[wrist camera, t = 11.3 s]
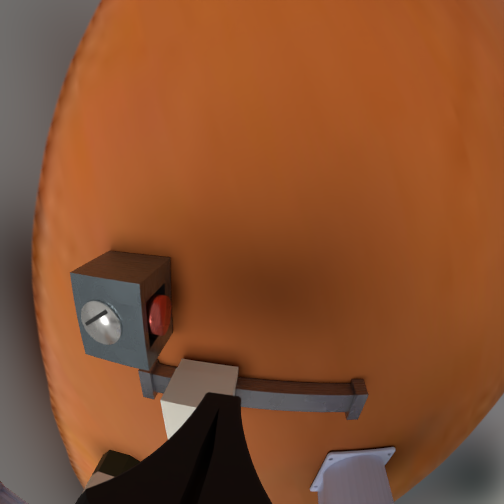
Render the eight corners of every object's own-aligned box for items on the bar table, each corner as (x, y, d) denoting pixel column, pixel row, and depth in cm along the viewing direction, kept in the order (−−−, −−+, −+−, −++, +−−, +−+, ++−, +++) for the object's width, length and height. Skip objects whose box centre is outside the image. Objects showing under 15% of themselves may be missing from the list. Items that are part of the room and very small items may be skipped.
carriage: (235, 407, 22) (227, 453, 17) (185, 399, 23) (168, 442, 18) (238, 364, 21) (228, 412, 16) (181, 356, 21) (160, 400, 16)
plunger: (172, 323, 19) (159, 343, 17) (119, 314, 19) (102, 330, 17) (170, 289, 18) (156, 306, 16) (116, 281, 19) (97, 295, 16)
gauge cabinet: (172, 332, 21) (147, 374, 16) (117, 321, 21) (83, 356, 16) (170, 257, 20) (136, 286, 14) (109, 250, 20) (67, 274, 15)
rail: (353, 403, 22) (357, 419, 20) (151, 382, 23) (143, 396, 21) (363, 379, 21) (368, 394, 19) (147, 356, 22) (138, 370, 20)
